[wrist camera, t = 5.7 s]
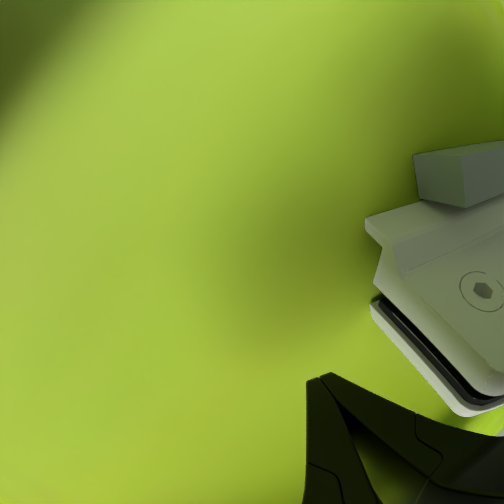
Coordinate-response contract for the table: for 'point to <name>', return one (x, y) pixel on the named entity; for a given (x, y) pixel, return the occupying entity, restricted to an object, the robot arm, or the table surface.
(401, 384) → the table surface
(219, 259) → the table surface
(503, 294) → the hinge
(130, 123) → the table surface
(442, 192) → the channel jig
